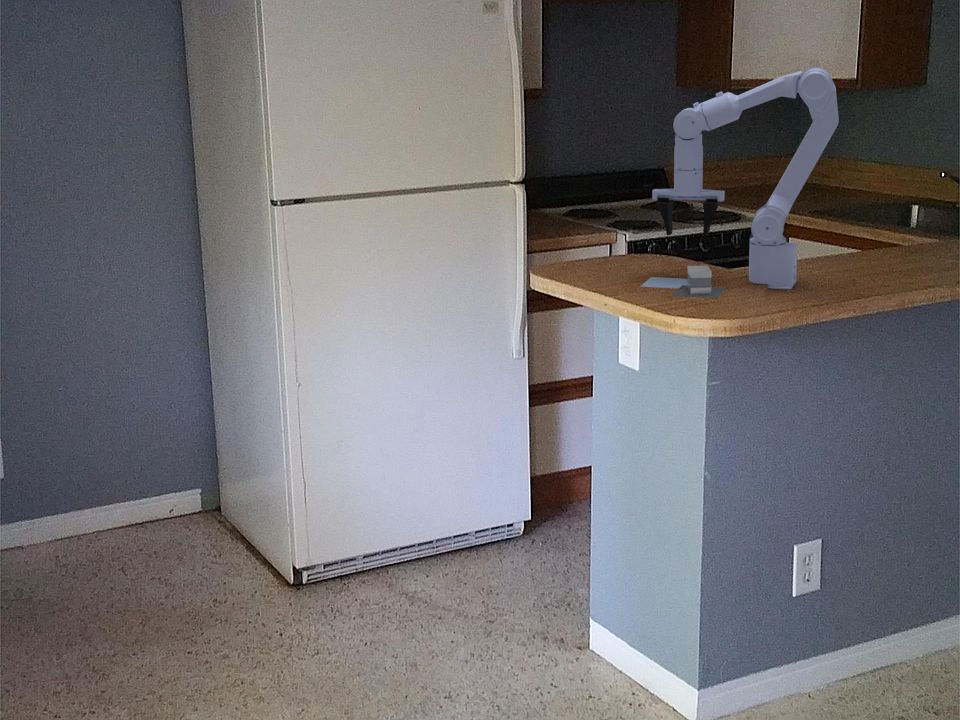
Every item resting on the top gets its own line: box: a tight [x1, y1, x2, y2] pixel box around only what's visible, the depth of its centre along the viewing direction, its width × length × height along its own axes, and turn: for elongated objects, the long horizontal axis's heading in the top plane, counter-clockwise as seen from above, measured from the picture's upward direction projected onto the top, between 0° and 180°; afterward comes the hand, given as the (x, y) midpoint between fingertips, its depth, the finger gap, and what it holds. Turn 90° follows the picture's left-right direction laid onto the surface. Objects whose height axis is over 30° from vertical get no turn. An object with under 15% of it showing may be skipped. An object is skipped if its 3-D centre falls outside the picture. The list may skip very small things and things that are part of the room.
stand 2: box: [671, 285, 727, 299], centre depth 240 cm, size 9×9×1 cm
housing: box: [687, 265, 713, 295], centre depth 239 cm, size 6×4×4 cm, turn 177°
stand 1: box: [639, 276, 688, 290], centre depth 248 cm, size 9×9×1 cm
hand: (687, 235), depth 248 cm, fingers open, 7 cm apart
